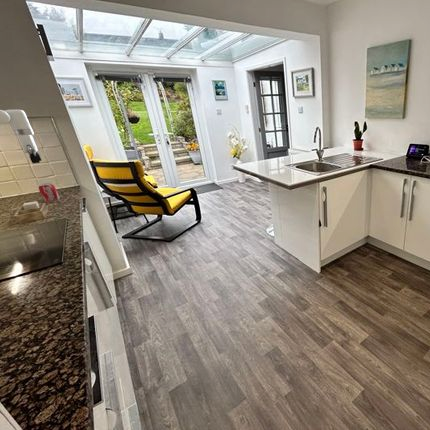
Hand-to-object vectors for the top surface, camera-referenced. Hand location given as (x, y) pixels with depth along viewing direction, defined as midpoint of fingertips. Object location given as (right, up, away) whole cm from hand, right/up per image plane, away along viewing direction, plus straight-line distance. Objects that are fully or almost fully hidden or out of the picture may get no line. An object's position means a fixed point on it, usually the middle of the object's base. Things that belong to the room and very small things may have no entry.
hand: (37, 162), depth 158 cm
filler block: (+16, -31, -15) cm, 38 cm away
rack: (+19, -33, -18) cm, 42 cm away
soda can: (+5, -25, +4) cm, 26 cm away
